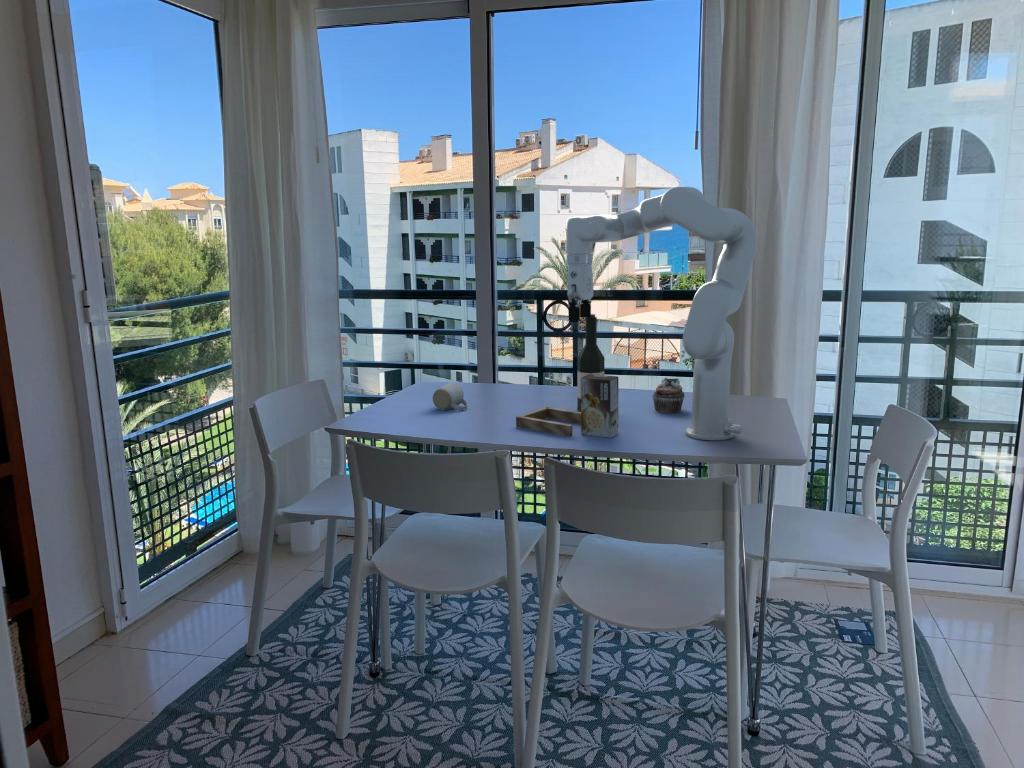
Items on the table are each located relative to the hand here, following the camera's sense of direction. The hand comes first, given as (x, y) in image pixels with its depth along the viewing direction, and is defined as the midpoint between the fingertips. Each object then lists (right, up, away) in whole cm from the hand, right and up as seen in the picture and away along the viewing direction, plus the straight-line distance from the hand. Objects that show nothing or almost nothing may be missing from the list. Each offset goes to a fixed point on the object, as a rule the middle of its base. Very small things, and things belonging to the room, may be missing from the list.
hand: (579, 319), depth 219 cm
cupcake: (+28, -28, +11) cm, 41 cm away
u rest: (-7, -31, -5) cm, 32 cm away
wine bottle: (+5, -28, +14) cm, 31 cm away
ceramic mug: (-39, -27, +19) cm, 51 cm away
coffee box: (+4, -33, -14) cm, 36 cm away
